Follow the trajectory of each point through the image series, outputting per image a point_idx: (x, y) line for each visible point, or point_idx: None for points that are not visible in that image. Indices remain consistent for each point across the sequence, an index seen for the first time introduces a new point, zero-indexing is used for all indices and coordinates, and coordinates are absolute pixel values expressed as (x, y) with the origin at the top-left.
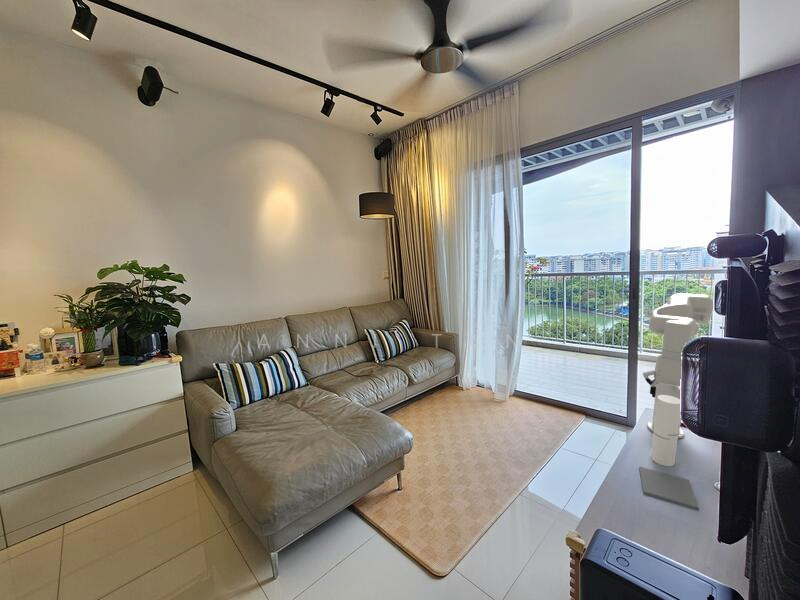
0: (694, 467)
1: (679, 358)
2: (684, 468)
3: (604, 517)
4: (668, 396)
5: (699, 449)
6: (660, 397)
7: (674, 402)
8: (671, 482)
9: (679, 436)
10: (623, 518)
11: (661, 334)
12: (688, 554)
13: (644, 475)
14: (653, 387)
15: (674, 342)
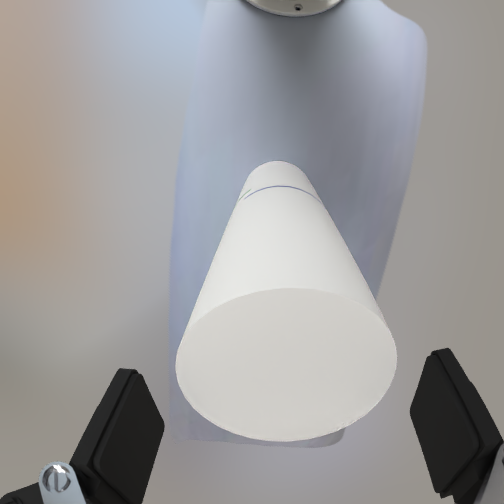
0: (366, 185)
1: None
2: (337, 209)
3: (187, 433)
4: (284, 321)
5: (393, 51)
6: (204, 382)
7: (319, 419)
8: None
9: (338, 2)
10: (210, 428)
11: None
12: (292, 442)
13: None
14: (113, 492)
15: None
